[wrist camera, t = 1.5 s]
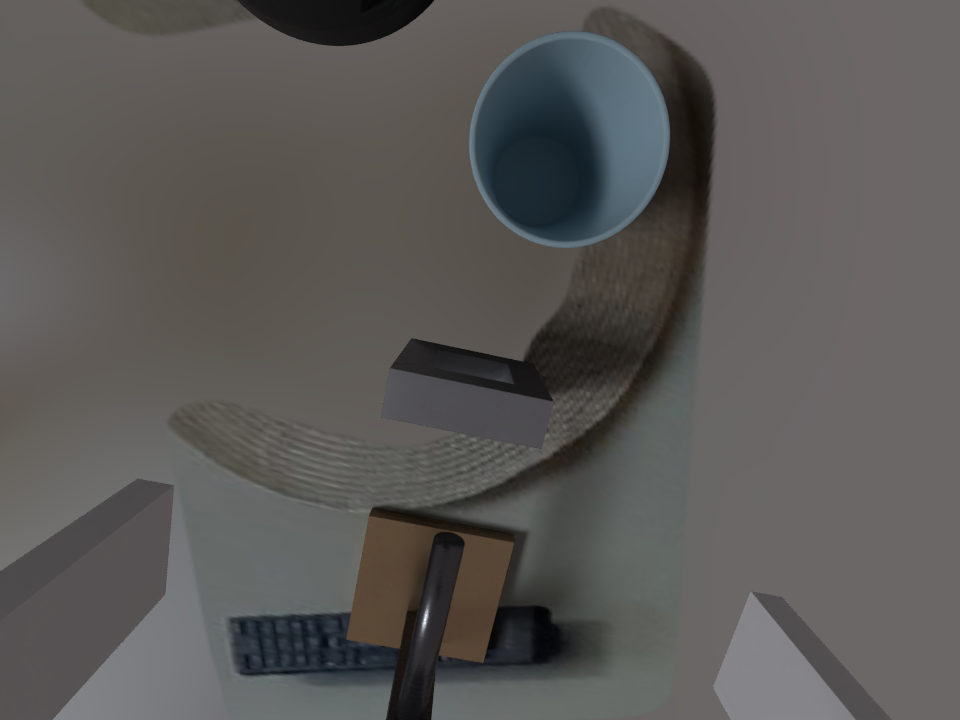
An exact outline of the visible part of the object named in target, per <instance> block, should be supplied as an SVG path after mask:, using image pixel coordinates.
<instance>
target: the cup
mask: <svg viewBox="0 0 960 720" xmlns="http://www.w3.org/2000/svg"><path fill="white" fill-rule="evenodd" d="M669 147H670V122H669V115H668V110H667V106H666V103H665V100H664V97H663V94H662V91H661V89H660V87H659V85H658V83H657V81H656V79H655V78H654V76H653V75H652V73H651V72H650V70H649V69H648V67H647V66H646V65H645V64H644V63H643V62H642V60H641V59H639V58H638V57H637V56H636V55H635V54H634V53H633V52H632V51H631V50H629V49H628V48H626V47H625V46H623V45H622V44H620V43H618V42H616V41H614V40H613V39H610V38H608V37H605V36H602V35H599V34H595V33H591V32H583V31H566V32H565V31H564V32H558V33H552V34H548V35H546V36H542V37H540V38H537V39H535V40H532V41H530V42H528V43H527V44H525V45H523V46H521V47H520V48H518V49H517V50H516V51H514V52H513V53H512V54H511V55H509V56H508V57H507V58H506V59H505V60H504V61H503V62H502V63H501V64H500V65H499V66H498V67H497V69H496V70H495V71H494V72H493V74H492V75H491V76H490V78H489V80H488V81H487V82H486V84H485V86H484V88H483V90H482V92H481V94H480V96H479V98H478V101H477V104H476V106H475V110H474V113H473V117H472V121H471V127H470V140H469V149H470V160H471V166H472V171H473V175H474V178H475V181H476V184H477V186H478V188H479V191H480V193H481V195H482V197H483V199H484V200H485V202H486V204H487V205H488V206H489V208H490V209H491V211H492V212H493V213H494V215H495V216H496V217H497V218H498V219H499V220H500V221H501V222H502V223H504V225H506V226H507V227H508V228H509V229H511V230H512V231H514V232H515V233H516V234H518V235H520V236H522V237H524V238H525V239H528V240H530V241H532V242H535V243H538V244H542V245H545V246H551V247H559V248H573V247H581V246H586V245H590V244H593V243H597V242H599V241H602V240H604V239H607V238H609V237H611V236H612V235H614V234H616V233H618V232H619V231H621V230H622V229H623V228H625V227H626V226H627V225H629V224H630V223H631V222H632V221H633V220H634V219H635V218H636V217H637V216H638V215H639V214H640V213H641V212H642V211H643V210H644V209H645V207H646V206H647V205H648V203H649V202H650V200H651V199H652V197H653V196H654V194H655V192H656V190H657V188H658V186H659V184H660V182H661V179H662V177H663V174H664V171H665V168H666V164H667V160H668V155H669Z"/></svg>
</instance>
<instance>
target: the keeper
mask: <svg viewBox="0 0 960 720" xmlns="http://www.w3.org/2000/svg"><path fill="white" fill-rule="evenodd" d="M513 546H514V536H513V534H509V533H504V532H498V531H493V530H487V529H482V528H477V527H471V526H466V525H461V524H455V523H450V522H444V521H439V520H434V519H428V518H423V517H418V516H412V515H407V514H401V513H396V512H391V511H385V510H380V509H375V508H372V510H371V512H370V515H369V519H368V525H367V530H366V536H365V541H364V547H363V552H362V557H361V563H360V568H359V574H358V579H357V585H356V590H355V596H354V601H353V607H352V612H351V618H350V623H349V629H348V634H347V640H352V641H358V642H364V643H370V644H376V645H381V646H387V647H393V648H399V652H398V658H397V663H396V669H395V674H394V679H393V685H392V690H391V695H390V701H389V706H388V711H387V717H386V720H431V716H432V704H433V693H434V682H435V671H436V665H437V661H438V657H439V655H441V656H447V657H453V658H459V659H464V660H470V661H476V662H482V663H483V662H484V658H485V654H486V650H487V646H488V642H489V639H490V635H491V631H492V627H493V623H494V619H495V615H496V612H497V608H498V604H499V600H500V596H501V592H502V589H503V585H504V581H505V577H506V573H507V569H508V566H509V562H510V558H511V554H512V550H513Z"/></svg>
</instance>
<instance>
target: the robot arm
mask: <svg viewBox="0 0 960 720" xmlns="http://www.w3.org/2000/svg"><path fill="white" fill-rule="evenodd" d="M238 1H239V2H240V3H241V4H242V5H243V6H244V7H245V8H246V9H247V10H248V11H249V12H251V13H252V14H253V15H255V16H256V17H257V18H258V19H260V20H261V21H263V22H264V23H266V24H267V25H269V26H271V27H272V28H274V29H276V30H278V31H280V32H282V33H284V34H286V35H289V36H291V37H294V38H297V39H299V40H303V41H307V42H311V43H315V44H321V45H331V46H348V45H357V44H362V43H367V42H371V41H374V40H377V39H380V38H383V37H385V36H388V35H390V34H392V33H394V32H396V31H398V30H399V29H401V28H403V27H404V26H406V25H407V24H409V23H410V22H411V21H413V20H414V19H416V18H417V17H418V16H419V15H420V14H421V13H423V12H424V11H425V10H426V8H428V7H429V6H430V4H432V2H433V1H434V0H238ZM173 491H174V485H168V484H163V483H158V482H152V481H147V480H142V479H137V480H135V481H134V482H132V483H130V484H129V485H127V486H126V487H125V488H123V489H122V490H120V491H119V492H117V493H116V494H114V495H113V496H111V497H110V498H108V499H107V500H105V501H104V502H102V503H101V504H99V505H98V506H96V507H95V508H93V509H92V510H91V511H89V512H87V513H86V514H85V515H83V516H82V517H80V518H79V519H77V520H76V521H74V522H73V523H71V524H70V525H68V526H67V527H65V528H64V529H62V530H61V531H59V532H58V533H57V534H55V535H53V536H52V537H50V538H49V539H47V540H46V541H44V542H43V543H42V544H40V545H39V546H37V547H36V548H34V549H33V550H31V551H30V552H28V553H27V554H25V555H24V556H22V557H21V558H19V559H18V560H16V561H15V562H13V563H12V564H10V565H9V566H7V567H6V568H4V569H3V570H1V571H0V720H52V719H53V718H54V717H55V716H56V715H57V714H58V713H59V712H60V711H61V709H62V708H63V707H64V706H65V705H66V704H67V703H68V702H69V700H70V699H71V698H72V697H73V696H74V695H75V694H76V693H77V692H78V691H79V689H80V688H81V687H82V686H83V685H84V684H85V683H86V682H87V681H88V679H89V678H90V677H91V676H92V675H93V674H94V672H96V671H97V669H98V668H99V667H100V666H101V665H102V664H103V663H104V662H105V661H106V659H107V658H108V657H109V656H110V655H111V654H112V653H113V652H114V651H115V649H116V648H117V647H118V646H119V645H120V644H121V643H122V642H123V641H124V639H125V638H126V637H127V636H128V635H129V634H130V633H131V632H132V631H133V630H134V628H135V627H136V626H137V625H138V624H139V623H140V622H141V621H142V620H143V618H144V617H145V616H146V615H147V614H148V613H149V612H150V611H151V610H152V608H153V607H154V606H155V605H156V604H157V603H158V602H159V601H160V600H161V598H162V597H163V596H164V595H165V590H166V578H167V566H168V553H169V540H170V529H171V515H172V504H173ZM713 688H714V690H715V692H716V694H717V695H718V697H719V699H720V701H721V703H722V705H723V706H724V708H725V710H726V711H727V714H728V715H729V717H730V719H731V720H891V719H890V717H889V716H888V715H887V714H886V713H885V712H884V711H883V710H882V708H880V706H879V705H878V704H877V703H876V702H875V701H874V700H873V698H872V697H871V696H870V695H869V694H868V693H867V692H866V691H865V690H864V688H863V687H862V686H861V685H860V684H859V683H858V682H857V681H856V679H855V678H854V677H853V676H852V675H851V674H850V673H849V672H848V671H847V670H846V668H845V667H844V666H843V665H842V664H841V663H840V662H839V660H838V659H837V658H836V657H835V656H834V655H833V654H832V653H831V651H830V650H829V649H828V648H827V647H826V646H825V645H824V644H823V642H822V641H821V640H820V639H819V638H818V637H817V636H816V635H815V634H814V633H813V631H812V630H811V629H810V628H809V627H808V626H807V625H806V623H805V622H804V621H803V620H802V619H801V618H800V617H799V616H798V615H797V613H796V612H795V611H794V610H793V609H792V608H791V607H790V606H789V604H788V603H787V602H786V601H785V600H784V599H783V598H782V597H778V596H772V595H767V594H762V593H756V592H751V593H750V595H749V598H748V600H747V603H746V605H745V608H744V610H743V613H742V616H741V618H740V621H739V623H738V626H737V628H736V631H735V633H734V636H733V638H732V641H731V643H730V646H729V649H728V651H727V654H726V656H725V659H724V661H723V664H722V666H721V669H720V671H719V674H718V676H717V679H716V682H715V684H714V687H713Z"/></svg>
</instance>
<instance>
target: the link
mask: <svg viewBox="0 0 960 720" xmlns="http://www.w3.org/2000/svg"><path fill="white" fill-rule="evenodd" d="M553 403H554V401H553V399H552V397H551V396H550V394H549V392H548V390H547V388H546V386H545V384H544V383H543V381H542V379H541V377H540V375H539V373H538V371H537V369H536V368H535V366H534V364H532V363H527V362H522V361H518V360H513V359H508V358H503V357H499V356H493V355H489V354H484V353H479V352H474V351H470V350H465V349H460V348H455V347H451V346H446V345H441V344H436V343H432V342H427V341H422V340H417V339H411V340H410V341H409V342H408V344H407V345H406V347H405V348H404V349H403V351H402V352H401V354H400V355H399V356H398V358H397V359H396V361H395V362H394V363H393V365H392V366H391V368H390V370H389V376H388V382H387V387H386V392H385V398H384V403H383V409H382V415H381V417H382V418H387V419H392V420H397V421H403V422H408V423H413V424H417V425H422V426H427V427H432V428H438V429H442V430H447V431H452V432H457V433H462V434H468V435H473V436H478V437H483V438H488V439H493V440H498V441H503V442H508V443H513V444H518V445H523V446H528V447H533V448H538V449H542V445H543V441H544V438H545V434H546V430H547V426H548V422H549V418H550V415H551V411H552V407H553Z"/></svg>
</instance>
